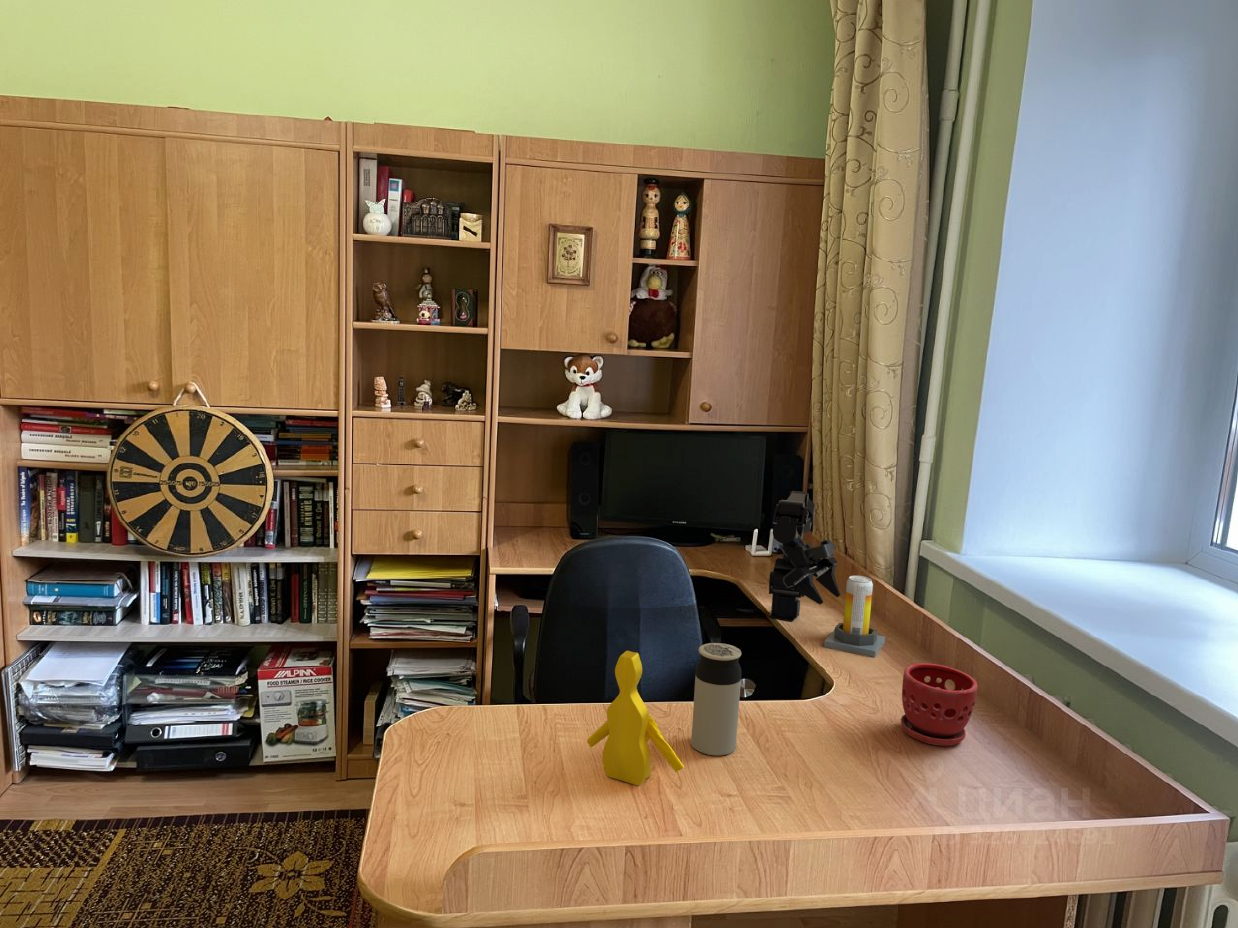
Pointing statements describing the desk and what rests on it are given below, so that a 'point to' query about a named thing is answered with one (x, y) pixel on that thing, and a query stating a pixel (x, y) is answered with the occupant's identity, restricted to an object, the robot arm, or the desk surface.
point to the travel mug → (716, 699)
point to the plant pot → (937, 703)
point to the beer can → (857, 605)
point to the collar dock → (855, 641)
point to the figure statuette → (630, 729)
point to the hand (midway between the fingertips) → (830, 599)
